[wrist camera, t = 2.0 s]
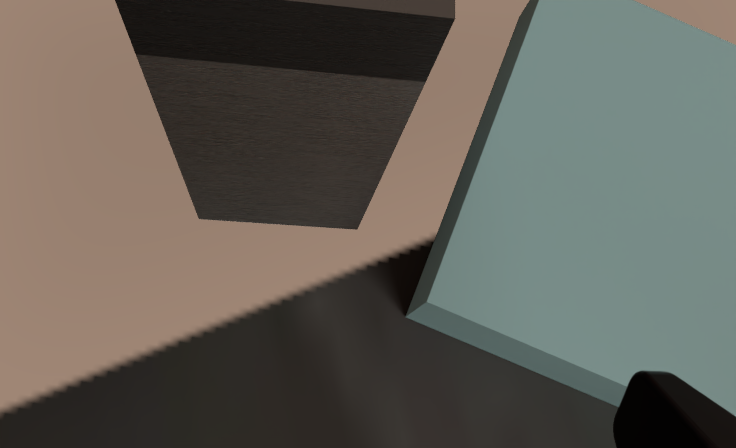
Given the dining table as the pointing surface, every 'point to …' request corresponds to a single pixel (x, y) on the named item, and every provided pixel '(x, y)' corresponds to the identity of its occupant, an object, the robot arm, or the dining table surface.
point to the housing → (285, 98)
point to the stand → (598, 205)
